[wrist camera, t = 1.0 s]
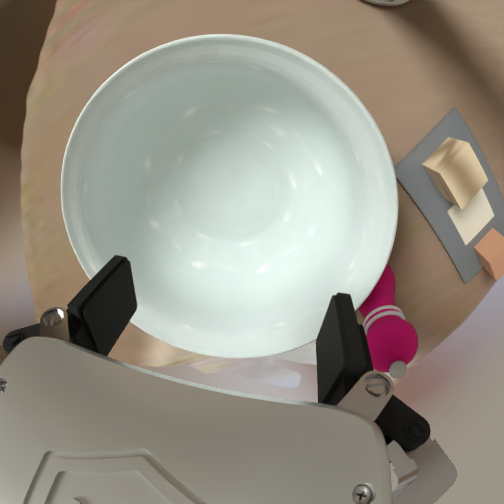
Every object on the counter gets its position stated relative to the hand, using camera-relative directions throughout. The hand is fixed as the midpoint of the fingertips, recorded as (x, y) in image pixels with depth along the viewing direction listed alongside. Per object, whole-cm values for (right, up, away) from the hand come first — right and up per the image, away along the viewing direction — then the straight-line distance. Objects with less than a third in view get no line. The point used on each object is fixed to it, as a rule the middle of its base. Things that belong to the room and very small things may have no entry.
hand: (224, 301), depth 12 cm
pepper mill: (+17, 0, +26) cm, 31 cm away
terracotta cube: (+40, +3, +20) cm, 45 cm away
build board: (+33, +9, +19) cm, 39 cm away
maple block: (+27, +13, +16) cm, 34 cm away
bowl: (-1, +11, +23) cm, 26 cm away
